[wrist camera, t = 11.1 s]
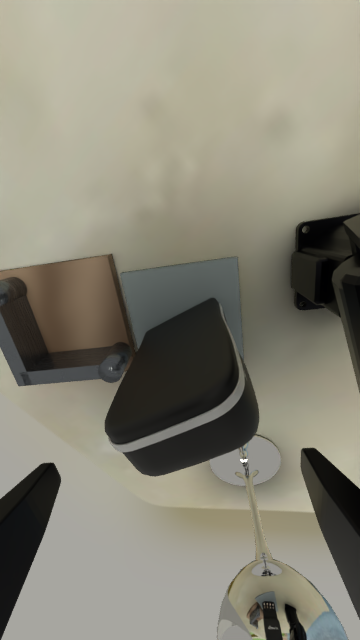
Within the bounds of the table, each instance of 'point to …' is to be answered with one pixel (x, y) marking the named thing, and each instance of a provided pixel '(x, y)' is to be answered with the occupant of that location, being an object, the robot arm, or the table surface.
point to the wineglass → (268, 569)
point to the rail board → (76, 303)
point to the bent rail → (31, 352)
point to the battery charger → (184, 395)
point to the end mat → (183, 294)
